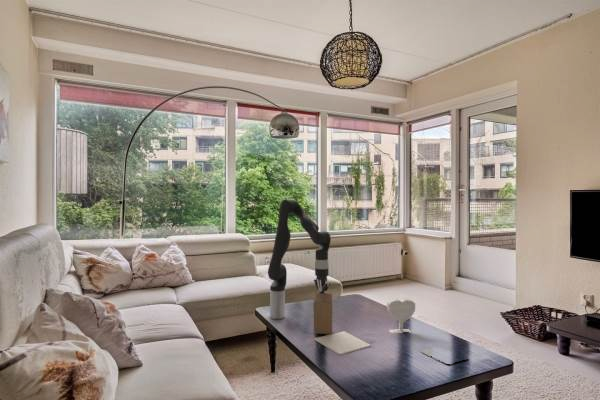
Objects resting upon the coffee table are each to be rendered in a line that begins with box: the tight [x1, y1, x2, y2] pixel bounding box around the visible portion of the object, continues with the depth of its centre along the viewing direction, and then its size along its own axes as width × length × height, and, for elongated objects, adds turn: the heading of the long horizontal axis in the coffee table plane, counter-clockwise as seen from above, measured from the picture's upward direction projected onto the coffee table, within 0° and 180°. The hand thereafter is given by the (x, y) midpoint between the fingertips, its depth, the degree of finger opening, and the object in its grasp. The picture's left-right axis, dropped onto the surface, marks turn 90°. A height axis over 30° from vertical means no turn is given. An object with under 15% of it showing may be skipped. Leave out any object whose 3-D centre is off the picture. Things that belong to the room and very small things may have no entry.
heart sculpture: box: [386, 298, 416, 334], centre depth 206 cm, size 16×5×18 cm, turn 96°
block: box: [313, 292, 333, 335], centre depth 201 cm, size 10×10×20 cm
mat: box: [314, 330, 372, 356], centre depth 190 cm, size 22×20×1 cm
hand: (321, 297), depth 205 cm, fingers closed
